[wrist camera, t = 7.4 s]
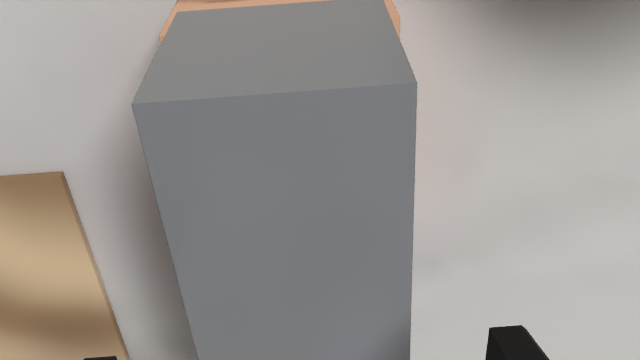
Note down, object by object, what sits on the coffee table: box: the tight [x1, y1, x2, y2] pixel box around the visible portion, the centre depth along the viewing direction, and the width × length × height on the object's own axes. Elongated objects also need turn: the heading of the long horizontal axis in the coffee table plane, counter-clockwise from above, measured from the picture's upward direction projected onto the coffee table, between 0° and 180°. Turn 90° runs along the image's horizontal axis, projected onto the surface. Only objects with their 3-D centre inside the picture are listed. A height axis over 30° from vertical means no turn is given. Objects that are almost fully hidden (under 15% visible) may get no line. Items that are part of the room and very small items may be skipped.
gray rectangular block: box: [132, 0, 417, 360], centre depth 15 cm, size 10×5×5 cm, turn 4°
